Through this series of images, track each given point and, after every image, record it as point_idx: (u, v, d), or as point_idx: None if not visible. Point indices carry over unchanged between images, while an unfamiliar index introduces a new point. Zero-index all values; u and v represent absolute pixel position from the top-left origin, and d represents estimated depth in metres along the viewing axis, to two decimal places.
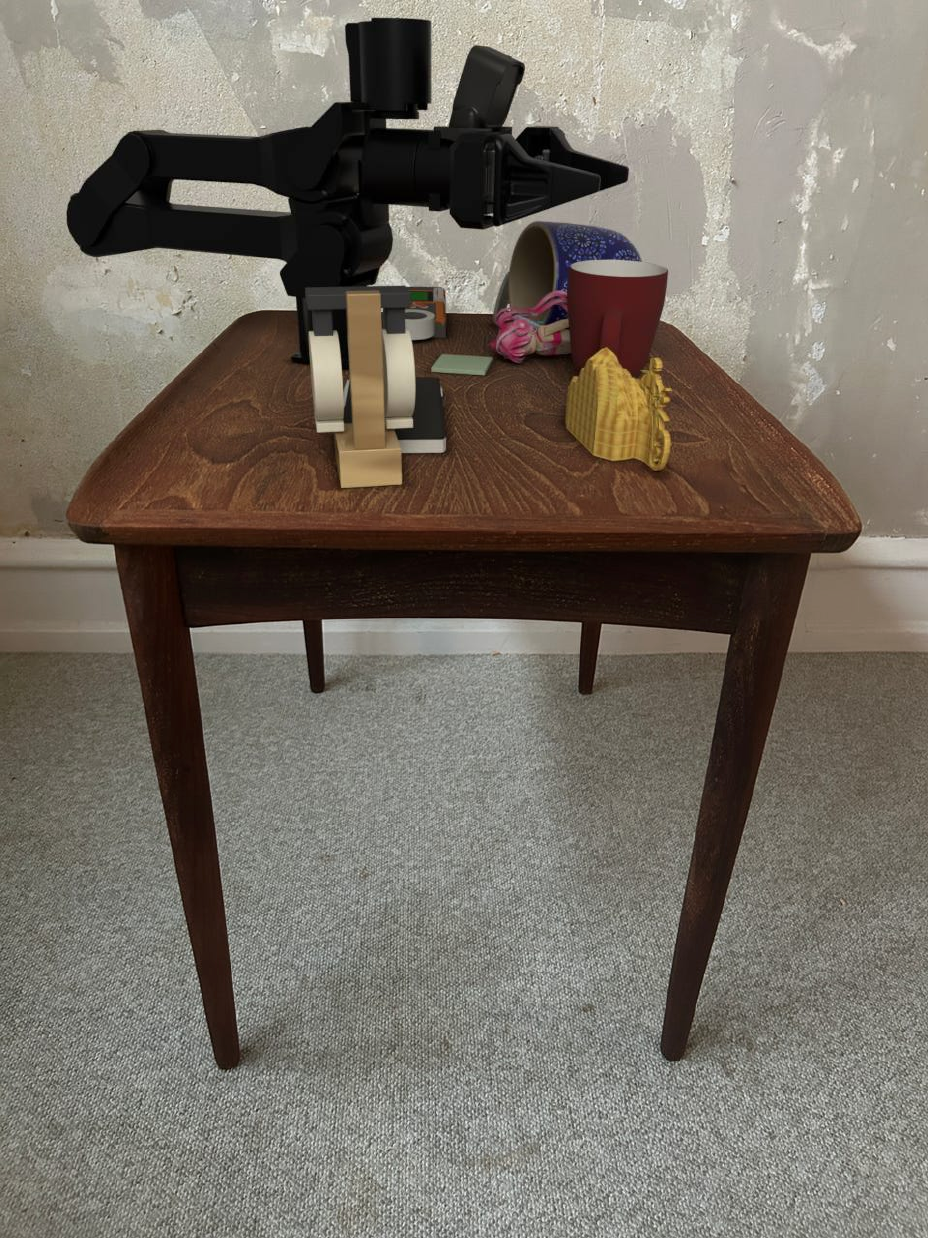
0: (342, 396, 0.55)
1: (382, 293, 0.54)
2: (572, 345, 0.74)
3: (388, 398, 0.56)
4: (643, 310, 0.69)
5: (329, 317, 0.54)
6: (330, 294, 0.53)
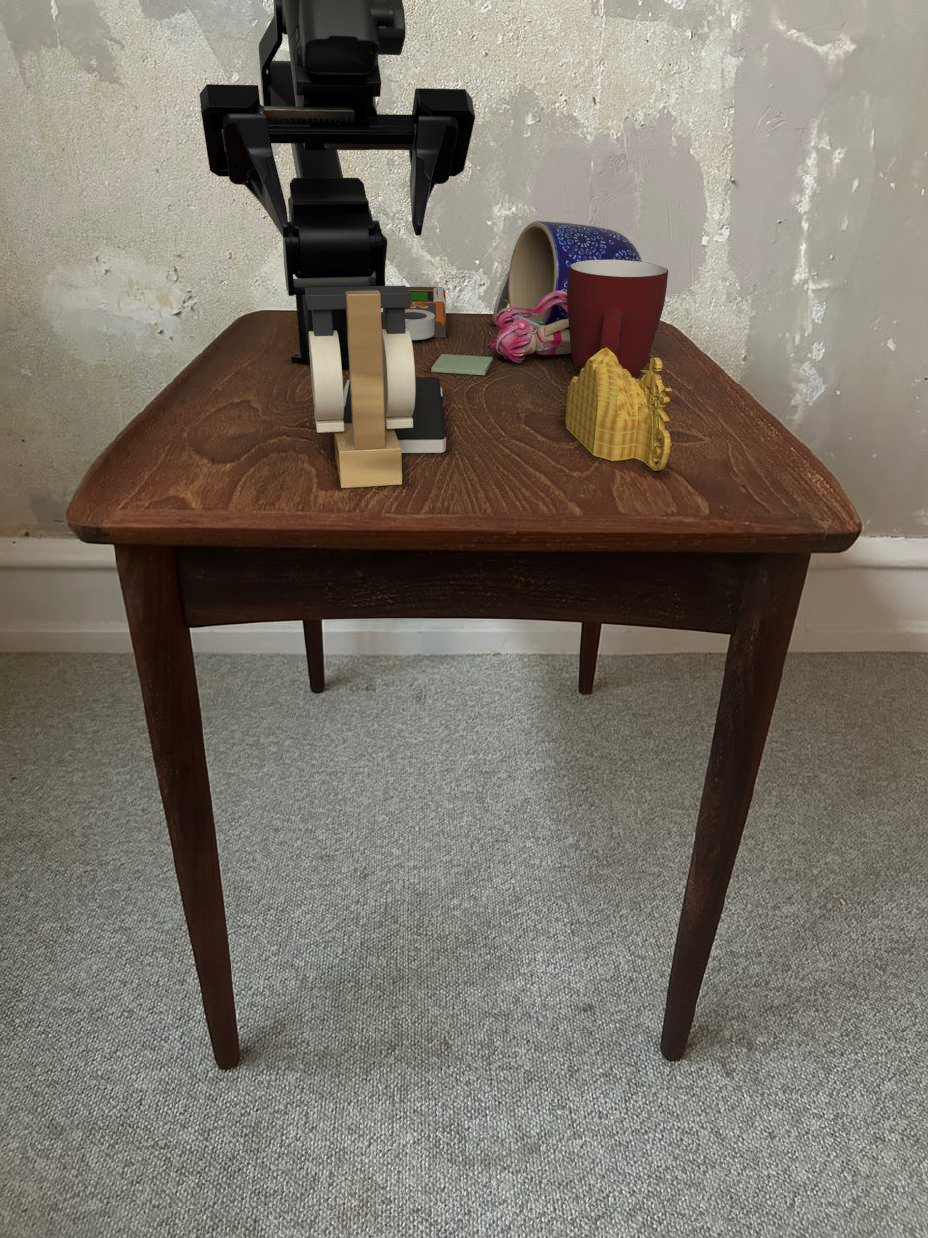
0: (342, 396, 0.55)
1: (382, 293, 0.54)
2: (572, 345, 0.74)
3: (388, 398, 0.56)
4: (643, 310, 0.69)
5: (329, 317, 0.54)
6: (330, 294, 0.53)
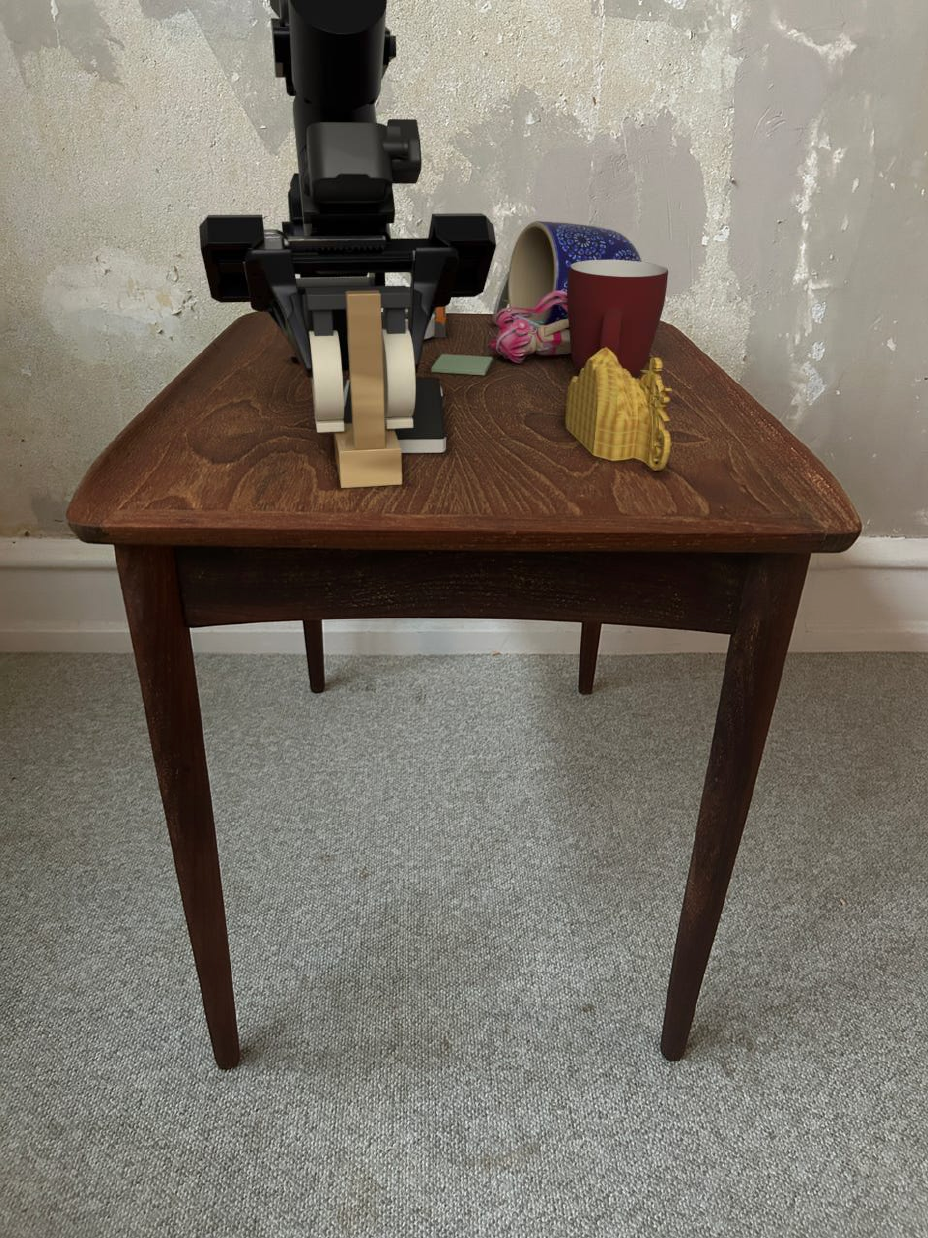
0: (342, 396, 0.55)
1: (382, 293, 0.54)
2: (572, 345, 0.74)
3: (388, 398, 0.56)
4: (643, 310, 0.69)
5: (329, 317, 0.54)
6: (330, 294, 0.53)
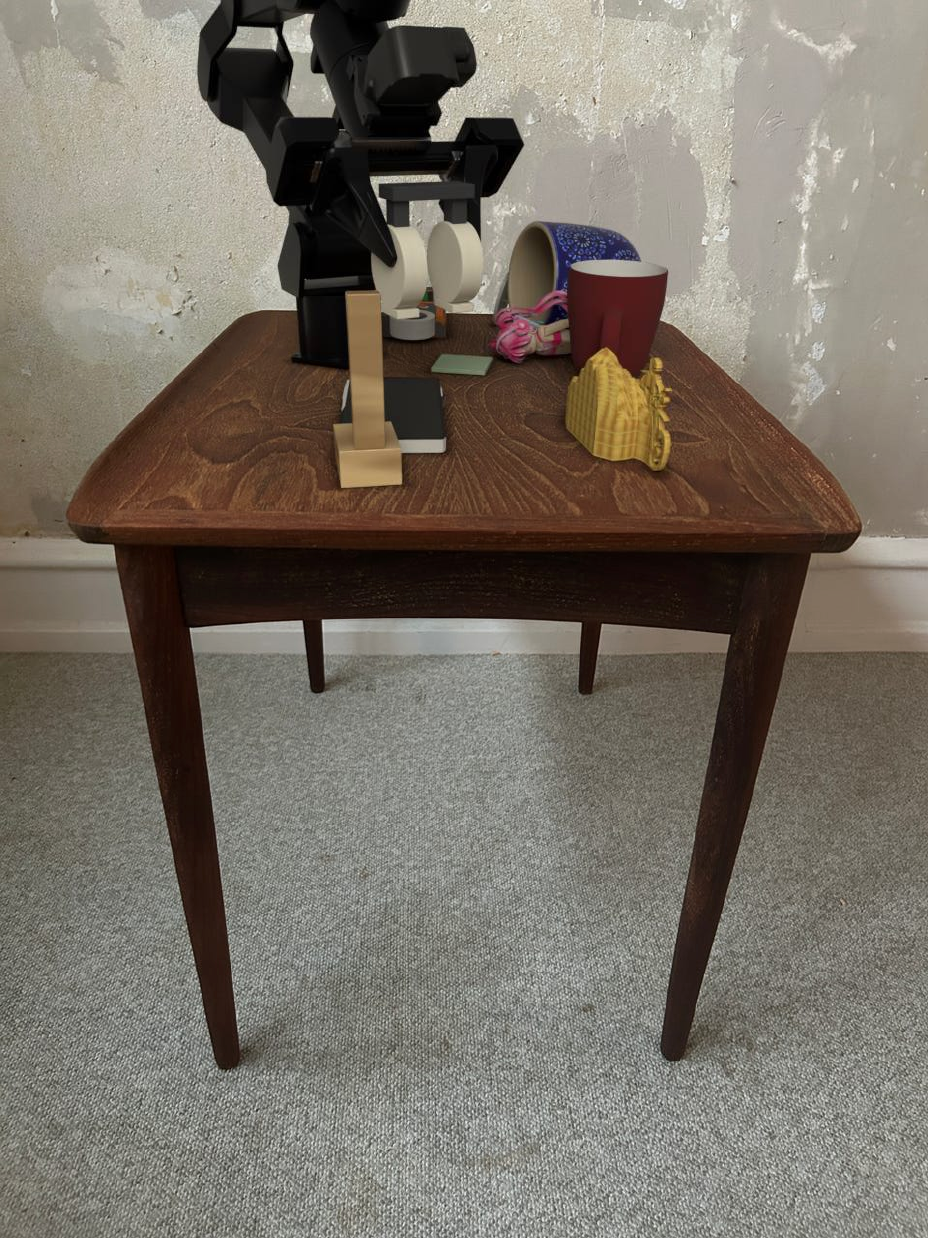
0: (426, 281, 0.61)
1: (452, 185, 0.61)
2: (572, 345, 0.74)
3: (461, 281, 0.63)
4: (643, 310, 0.69)
5: (407, 209, 0.60)
6: (411, 186, 0.59)
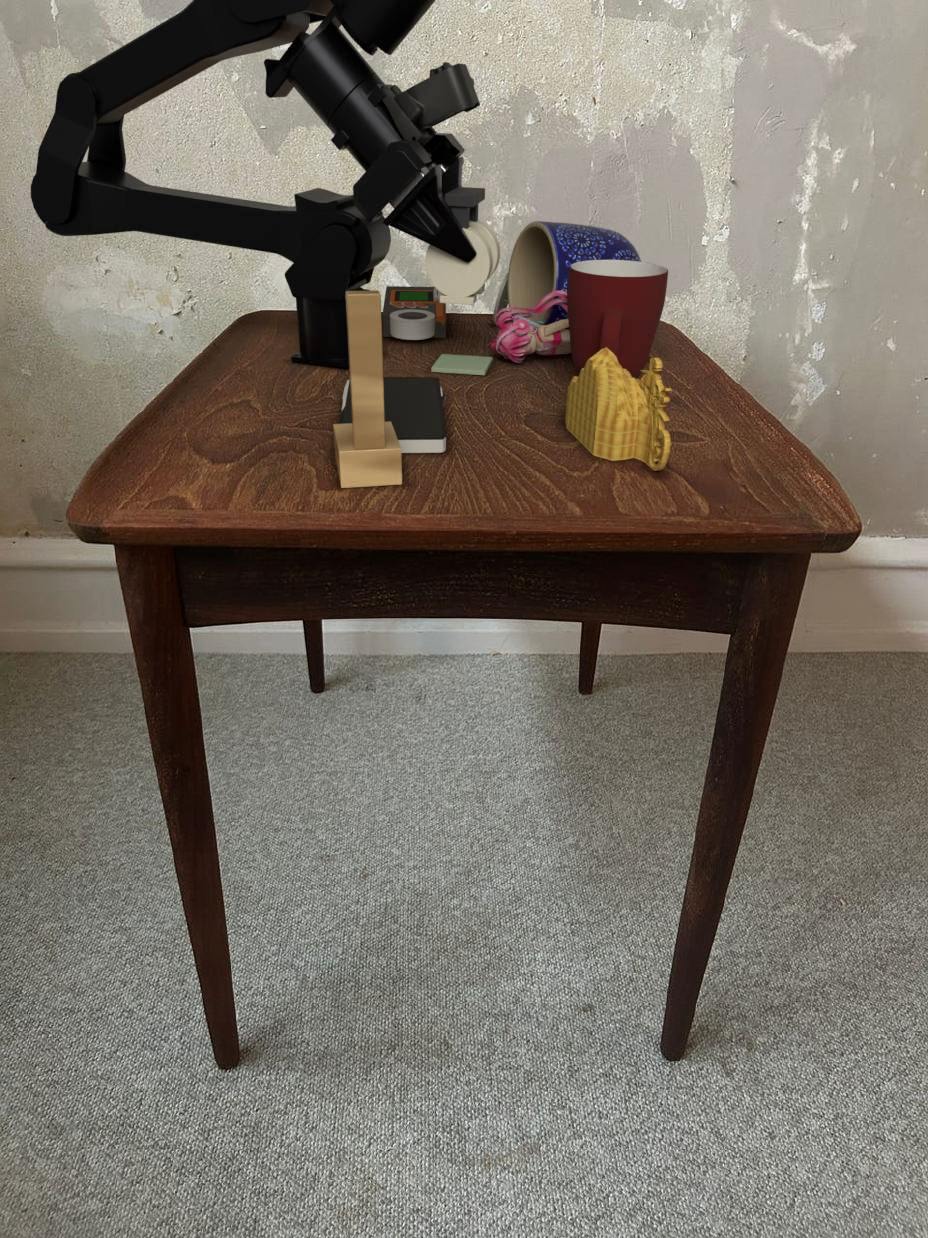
0: (491, 269, 0.76)
1: (481, 190, 0.75)
2: (572, 345, 0.74)
3: (495, 266, 0.78)
4: (643, 310, 0.69)
5: (469, 213, 0.73)
6: (474, 193, 0.72)
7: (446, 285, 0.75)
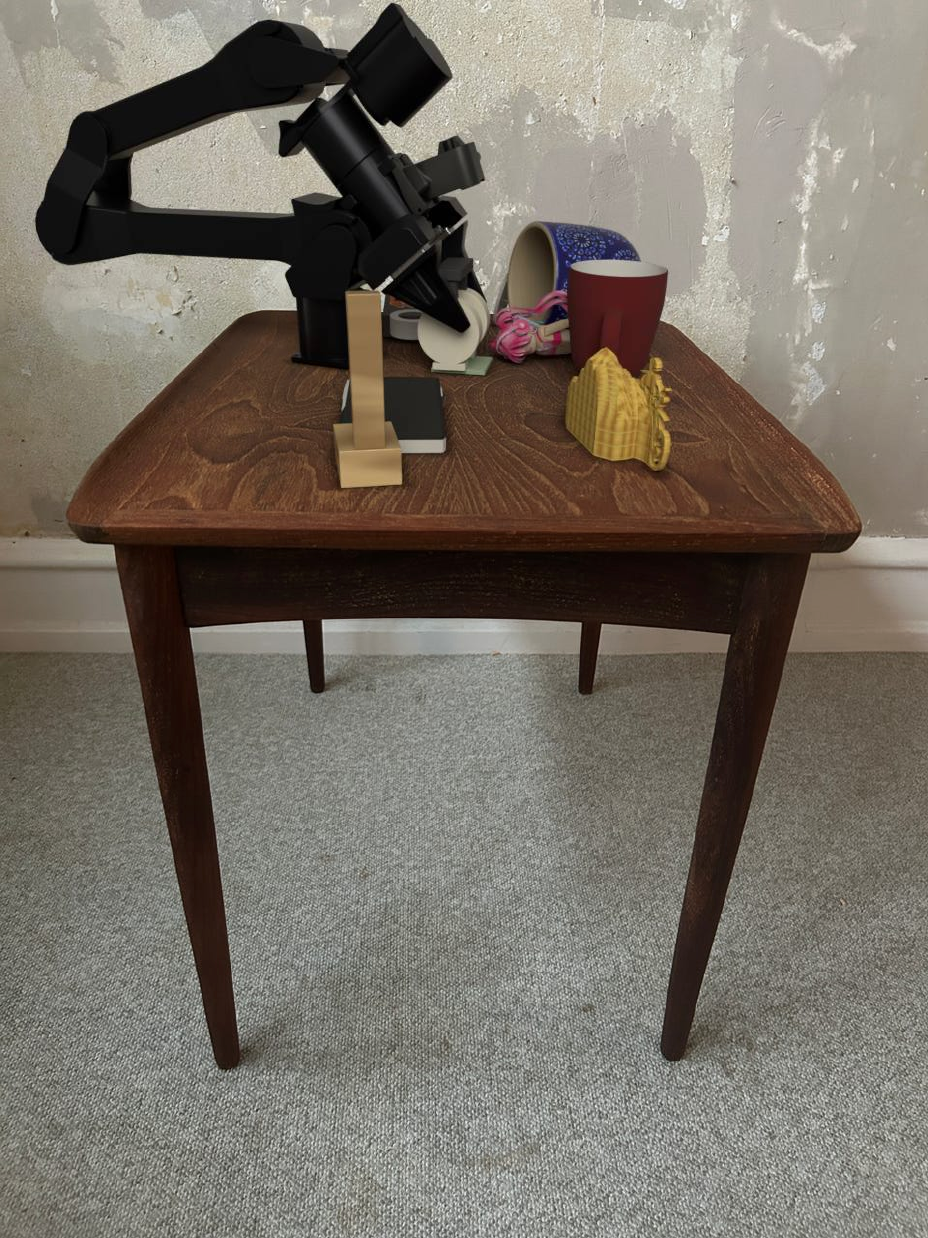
0: (481, 336, 0.79)
1: (469, 261, 0.78)
2: (572, 345, 0.74)
3: (485, 331, 0.81)
4: (643, 310, 0.69)
5: (458, 285, 0.76)
6: (462, 267, 0.76)
7: (438, 353, 0.78)
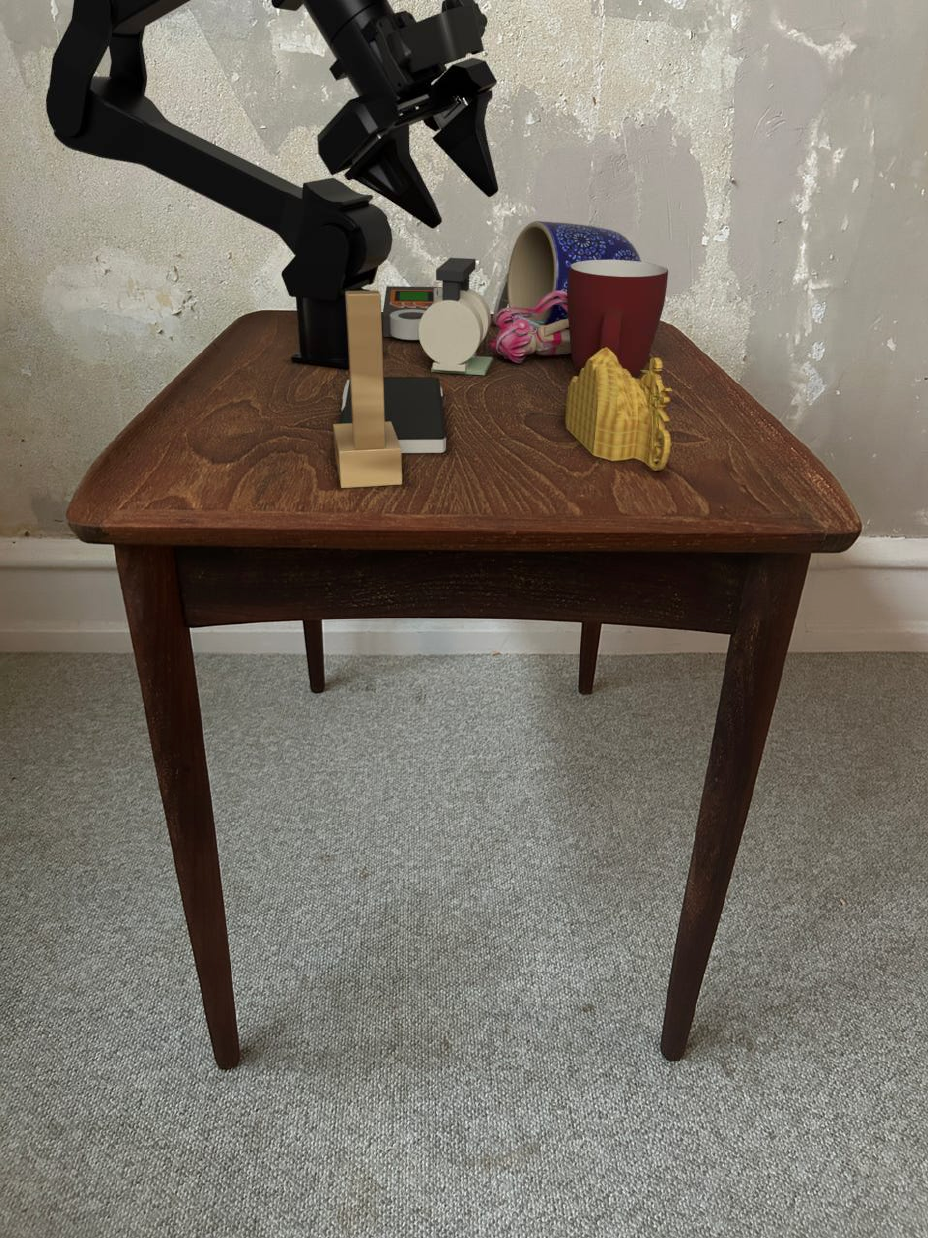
0: (482, 337, 0.79)
1: (471, 262, 0.78)
2: (572, 345, 0.74)
3: (486, 333, 0.81)
4: (643, 310, 0.69)
5: (460, 285, 0.76)
6: (464, 268, 0.76)
7: (439, 353, 0.78)
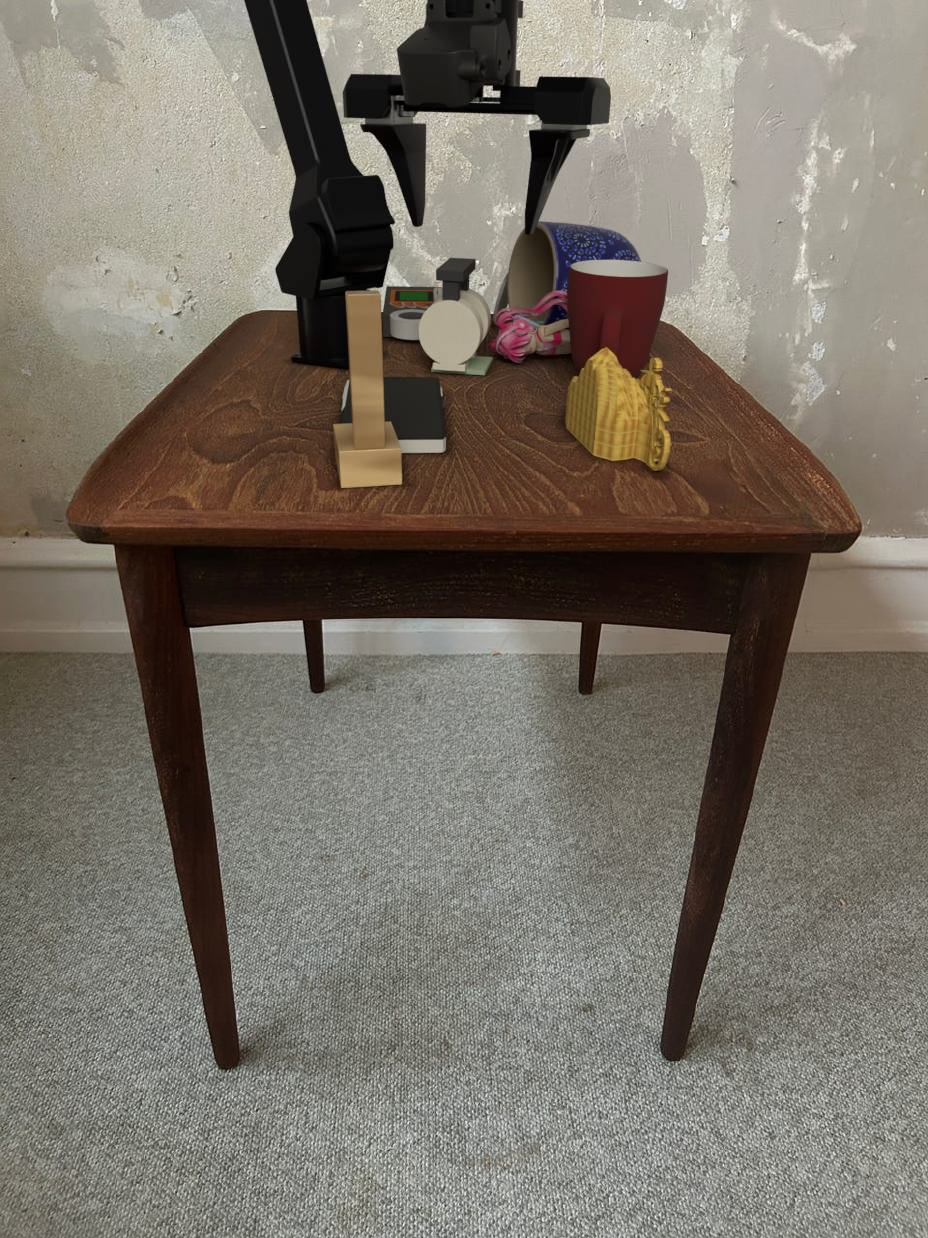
0: (482, 337, 0.79)
1: (471, 262, 0.78)
2: (572, 345, 0.74)
3: (486, 333, 0.81)
4: (643, 310, 0.69)
5: (460, 285, 0.76)
6: (464, 268, 0.76)
7: (439, 353, 0.78)
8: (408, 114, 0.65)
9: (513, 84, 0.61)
